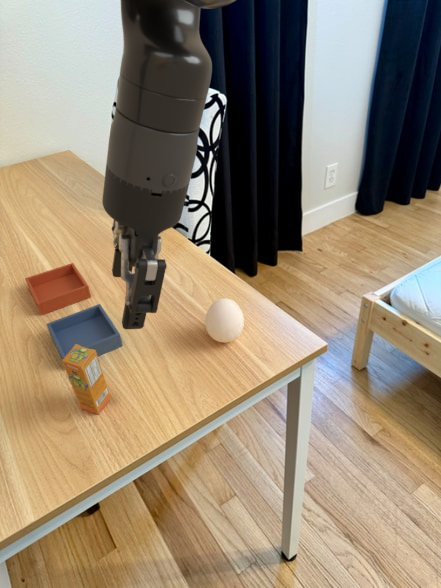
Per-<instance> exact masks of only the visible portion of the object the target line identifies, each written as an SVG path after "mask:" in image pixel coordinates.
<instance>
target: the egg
mask: <svg viewBox="0 0 441 588" xmlns="http://www.w3.org/2000/svg"><path fill="white" fill-rule="evenodd" d="M204 325H205V329H206V332H207V334H208V335H209V336H210V337H211V338H212V339H213V340H214V341H216V342H218V343H223V344H224V343H230V342H233V341H235V340H236V339H238V338H239V336H241V334H242V332H243V330H244V325H245V317H244V313H243V310H242V309H241V308H240V305H238V303H236V302H235V301H234V300H233V299H230V298H227V297H224V298H223V297H221V298H219V299H216V300H215V301H213V302H212V303H211V305H210V306H209V307H208V309H207V311H206V313H205V318H204Z"/></svg>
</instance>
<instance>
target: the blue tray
mask: <svg viewBox="0 0 441 588" xmlns="http://www.w3.org/2000/svg"><path fill="white" fill-rule="evenodd" d="M46 327H47V329H48V332H49V335H50V338H51V339H52V341H53V344H54V346H55V348H56V350H57V352H58V355H59V356H60V359H61V361H62V360H63V359H64V358H65V356H66V355H67V354H68V353H69V352H70V350H71V349H72V348H73V346H74V345H75V344H78V345H80V346H82V347H85V348H88V349H94V350H95V351H96V353H97V356H98V357H100V356H103V355H105V354H107V353H109V352H112V351H114V350H118V349H119V348H121V347H123V342H122V337H121V334H120V332H119V331H118V329H117V328H116V326H115V324H114V323H113V322H112V319H111V318H110V316H109V315H108V313H107V312H106V311H105V309H104V307H103V306H102V305H101V303H98V304H96V305H93V306H91V307H87V308H85V309H82V310H79V311H77V312H75V313H71V314H69V315H66V316H63V317H60V318H58V319H55V320H53V321H50V322H48V323H46Z"/></svg>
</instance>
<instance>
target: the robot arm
mask: <svg viewBox="0 0 441 588" xmlns="http://www.w3.org/2000/svg"><path fill="white" fill-rule="evenodd" d="M236 1H237V0H120V18H121V26H122V38H123V39H122V40H123V41H122V42H123V45H122V46H123V47H122V56H121V60H120V68H119V75H118V85H117V93H116V102H115V103H116V105H115V110H114V115H113V119H112V123H111V127H110V131H109V136H108V145H107V155H106V163H105V172H104V181H103V191H102V201H101V202H102V207H103V209H104V211H105V212H106V214H107V215H108V216H109V217H110V219H112V220H113V221H112V222H113V223H112V226H111V232H112V234H113V235H112V237H113V240H112V245H113V248H114V253H113V258H112V259H113V260H112V266H111V267H112V268H111V274H112V276H113V277H114V278H121V280H123V281H124V282H125V297H124V307H123V313H122V318H121V326H122V328H123V329H124V330H140V329H143V328H144V326H145V322H146V317H147V314H156V313H157V311H158V309H159V302H160V298H161V293H162V289H163V283H164V280H165V274H166V270H167V262H166V260H165V259H161V258H160V259H159V255H160V253H161V251H162V236H161V235H160V234H162V233H163V232H166V231H167V230H169V229H171V228H173V227H175V226H176V225H177V224H178V223H179V222H180V221H181V218H182V214H183V211H184V206H185V202H186V199H187V194H188V190H189V186H190V182H191V177H192V174H193V171H194V170H193V169H194V165H195V162H196V156H197V151H198V141H199V133H200V127H201V123H202V120H203V115H204V110H205V107H206V102H207V97H208V94H209V89H210V85H211V80H212V74H213V62H212V57H211V56H210V54H209V52H208V50H207V48H206V47H205V45H204V43H203V41H202V38H201V34H200V21H201V9H205V10H209V9H210V10H212V9H219V8H223V7H226V6H229V5H231V4H233V3H235V2H236Z"/></svg>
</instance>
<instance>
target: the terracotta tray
mask: <svg viewBox="0 0 441 588" xmlns="http://www.w3.org/2000/svg"><path fill="white" fill-rule="evenodd" d="M24 280H25V282H26V285H27V288H28V291H29V292H30V294H31V296H32V299H33V300H34V303H35V305H36V307H37V309H38V311H39V313H40V315H41V316H43V315H46V314H49V313H51V312H54V311H58V310H60V309H62V308H66V307H68V306H71V305H74V304H76V303H79V302H82V301H85V300H88V299H90V298H92V296H91V290H90V286H89V285H88V284H87V283H88V282H86V280H85V279H84V277H83V276H82V274H81V273H80V271H79V270H78V268H77V267H76V264H75V263H74V262H71V263H68V264H64V265H61V266H58V267H55V268H52V269H50V270H46V271H43V272H41V273H38V274H37V273H36V274H33V275H31V276H28V277H25V279H24Z"/></svg>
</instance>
